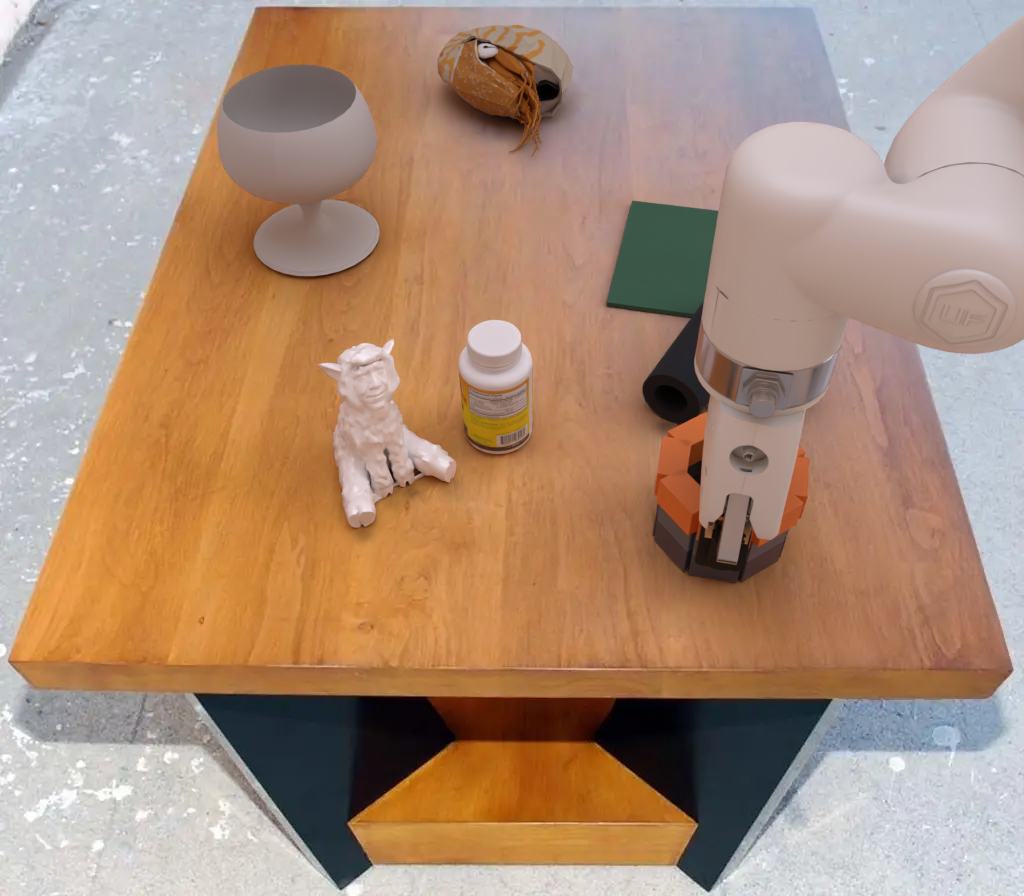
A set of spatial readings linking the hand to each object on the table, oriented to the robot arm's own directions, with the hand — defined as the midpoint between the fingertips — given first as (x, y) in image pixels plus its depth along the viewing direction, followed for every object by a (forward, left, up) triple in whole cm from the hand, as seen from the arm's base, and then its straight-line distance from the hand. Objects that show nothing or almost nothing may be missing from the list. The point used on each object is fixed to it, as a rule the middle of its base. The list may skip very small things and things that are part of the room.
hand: (720, 546), depth 69 cm
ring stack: (0, -4, -3) cm, 5 cm away
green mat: (+4, -35, -3) cm, 35 cm away
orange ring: (0, -4, +2) cm, 4 cm away
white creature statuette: (+26, -4, -3) cm, 27 cm away
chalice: (+41, -31, -3) cm, 52 cm away
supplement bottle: (+18, -10, -3) cm, 21 cm away
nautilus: (+28, -57, -3) cm, 64 cm away
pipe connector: (-1, -20, -3) cm, 20 cm away
